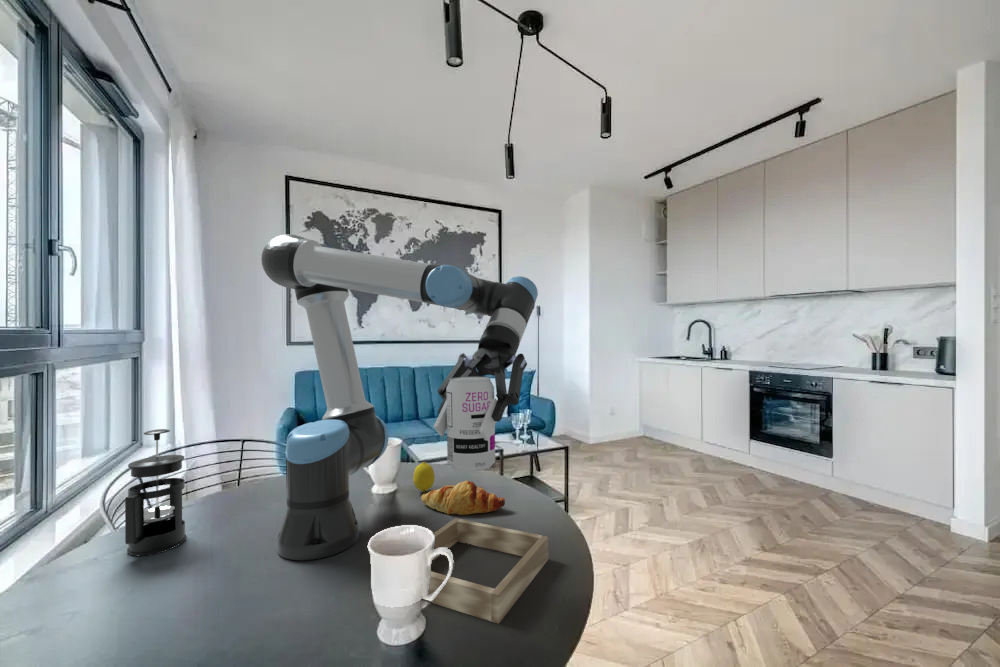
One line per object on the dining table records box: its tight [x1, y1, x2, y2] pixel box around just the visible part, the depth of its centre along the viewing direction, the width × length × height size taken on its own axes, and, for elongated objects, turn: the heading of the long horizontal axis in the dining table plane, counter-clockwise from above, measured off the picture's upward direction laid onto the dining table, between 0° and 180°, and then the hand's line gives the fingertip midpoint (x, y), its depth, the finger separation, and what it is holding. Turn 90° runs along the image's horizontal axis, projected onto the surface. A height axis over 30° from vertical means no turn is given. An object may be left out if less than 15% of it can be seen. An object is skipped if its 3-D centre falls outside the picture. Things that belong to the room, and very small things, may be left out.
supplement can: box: [446, 376, 496, 473], centre depth 75 cm, size 8×8×15 cm
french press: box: [124, 428, 187, 556], centre depth 87 cm, size 12×9×23 cm
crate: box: [429, 517, 550, 625], centre depth 75 cm, size 20×20×4 cm
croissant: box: [421, 479, 506, 516], centre depth 104 cm, size 21×10×8 cm, turn 76°
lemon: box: [412, 461, 435, 493], centre depth 115 cm, size 6×6×8 cm
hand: (460, 433), depth 72 cm, fingers closed on supplement can, 8 cm apart
